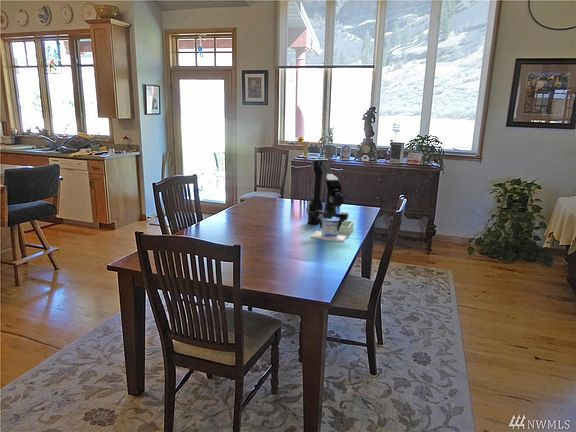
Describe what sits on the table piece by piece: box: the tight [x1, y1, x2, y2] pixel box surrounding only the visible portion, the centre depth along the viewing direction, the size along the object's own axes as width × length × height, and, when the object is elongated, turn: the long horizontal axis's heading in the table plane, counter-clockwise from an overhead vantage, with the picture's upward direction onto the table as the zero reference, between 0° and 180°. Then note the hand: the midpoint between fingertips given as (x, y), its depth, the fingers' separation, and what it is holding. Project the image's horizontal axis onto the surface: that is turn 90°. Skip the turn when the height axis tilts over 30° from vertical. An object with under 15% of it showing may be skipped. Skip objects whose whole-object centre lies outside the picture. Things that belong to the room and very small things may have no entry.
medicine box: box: [321, 218, 339, 237], centre depth 223 cm, size 8×4×9 cm, turn 106°
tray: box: [310, 230, 349, 243], centre depth 224 cm, size 18×11×1 cm, turn 70°
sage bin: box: [335, 218, 355, 237], centre depth 234 cm, size 15×14×5 cm
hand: (329, 230), depth 223 cm, fingers open, 9 cm apart
